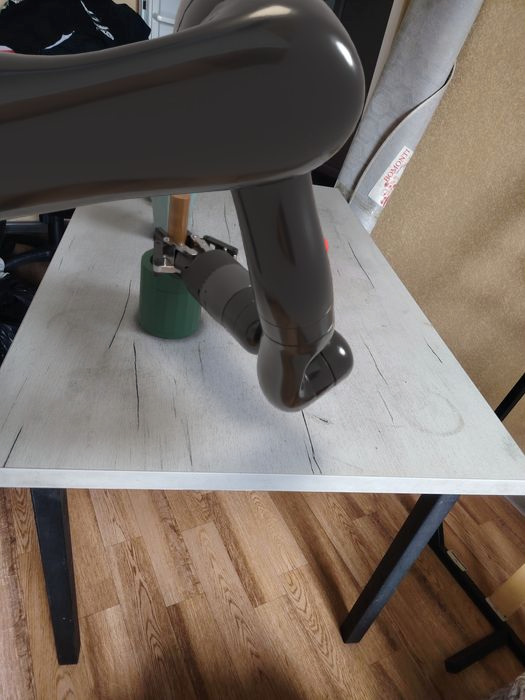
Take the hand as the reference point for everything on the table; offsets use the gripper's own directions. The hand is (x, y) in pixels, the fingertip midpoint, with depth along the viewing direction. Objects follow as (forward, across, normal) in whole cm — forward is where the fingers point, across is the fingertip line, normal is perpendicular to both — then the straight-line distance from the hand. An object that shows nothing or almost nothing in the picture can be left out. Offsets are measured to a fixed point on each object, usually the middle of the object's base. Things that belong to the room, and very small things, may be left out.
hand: (167, 232), depth 72 cm
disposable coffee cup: (+25, -14, +15) cm, 32 cm away
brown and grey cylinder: (-3, 0, +11) cm, 11 cm away
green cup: (-3, 0, +14) cm, 15 cm away
